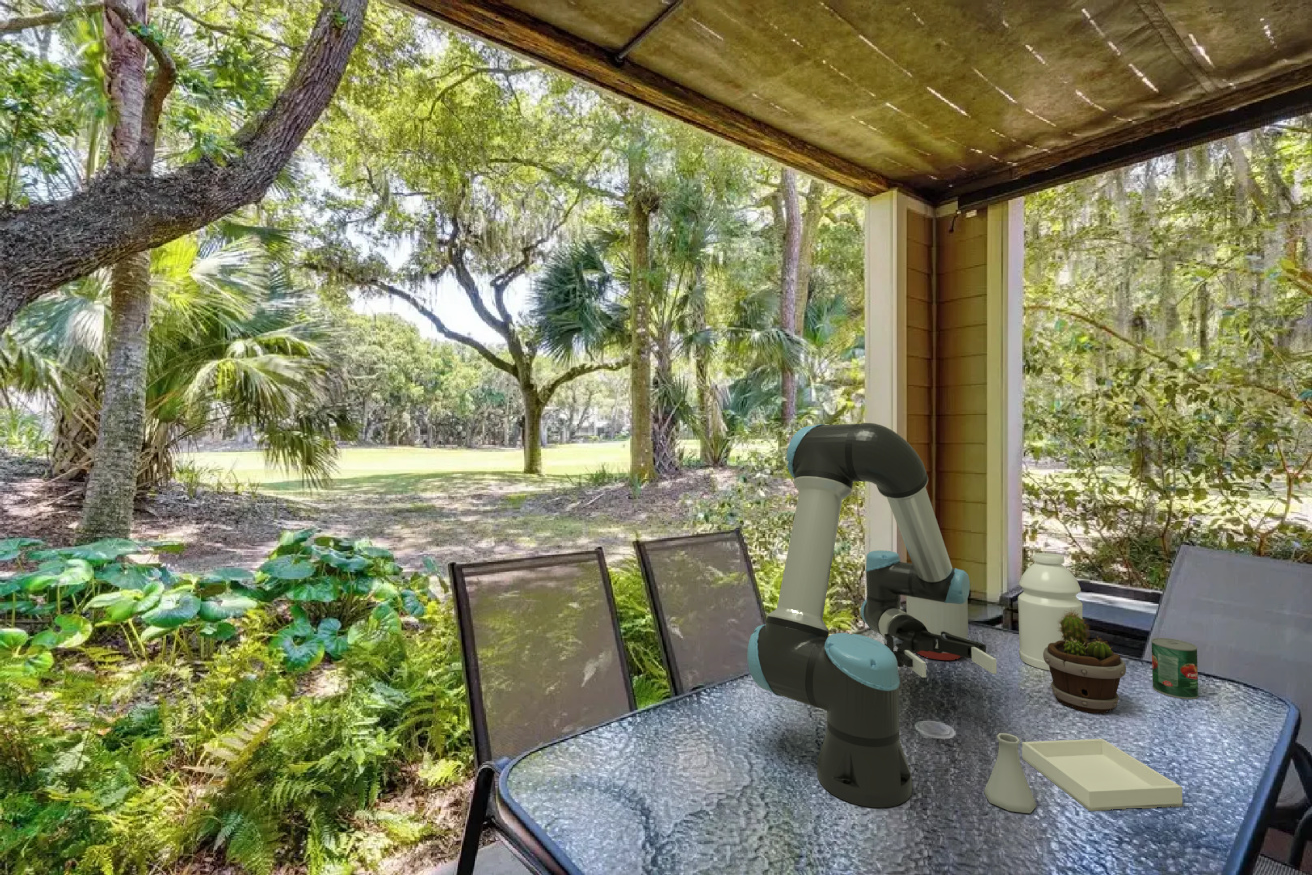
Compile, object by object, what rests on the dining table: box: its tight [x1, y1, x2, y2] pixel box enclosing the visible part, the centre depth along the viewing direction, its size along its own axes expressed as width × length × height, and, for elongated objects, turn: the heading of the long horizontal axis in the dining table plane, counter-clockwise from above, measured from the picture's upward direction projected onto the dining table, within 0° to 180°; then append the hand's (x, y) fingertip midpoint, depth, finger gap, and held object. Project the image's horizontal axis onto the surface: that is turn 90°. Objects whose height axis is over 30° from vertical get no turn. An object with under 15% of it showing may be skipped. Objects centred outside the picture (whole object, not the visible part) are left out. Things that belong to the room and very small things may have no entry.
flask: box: [983, 732, 1037, 814], centre depth 93 cm, size 7×7×10 cm
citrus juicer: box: [905, 596, 969, 661], centre depth 160 cm, size 16×17×20 cm
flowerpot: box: [1043, 607, 1127, 714], centre depth 128 cm, size 14×15×20 cm
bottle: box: [1017, 552, 1084, 671], centre depth 151 cm, size 14×14×28 cm
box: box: [1021, 738, 1183, 812], centre depth 98 cm, size 15×15×3 cm
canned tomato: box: [1150, 637, 1199, 700], centre depth 133 cm, size 8×8×11 cm
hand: (959, 668), depth 108 cm, fingers open, 13 cm apart
